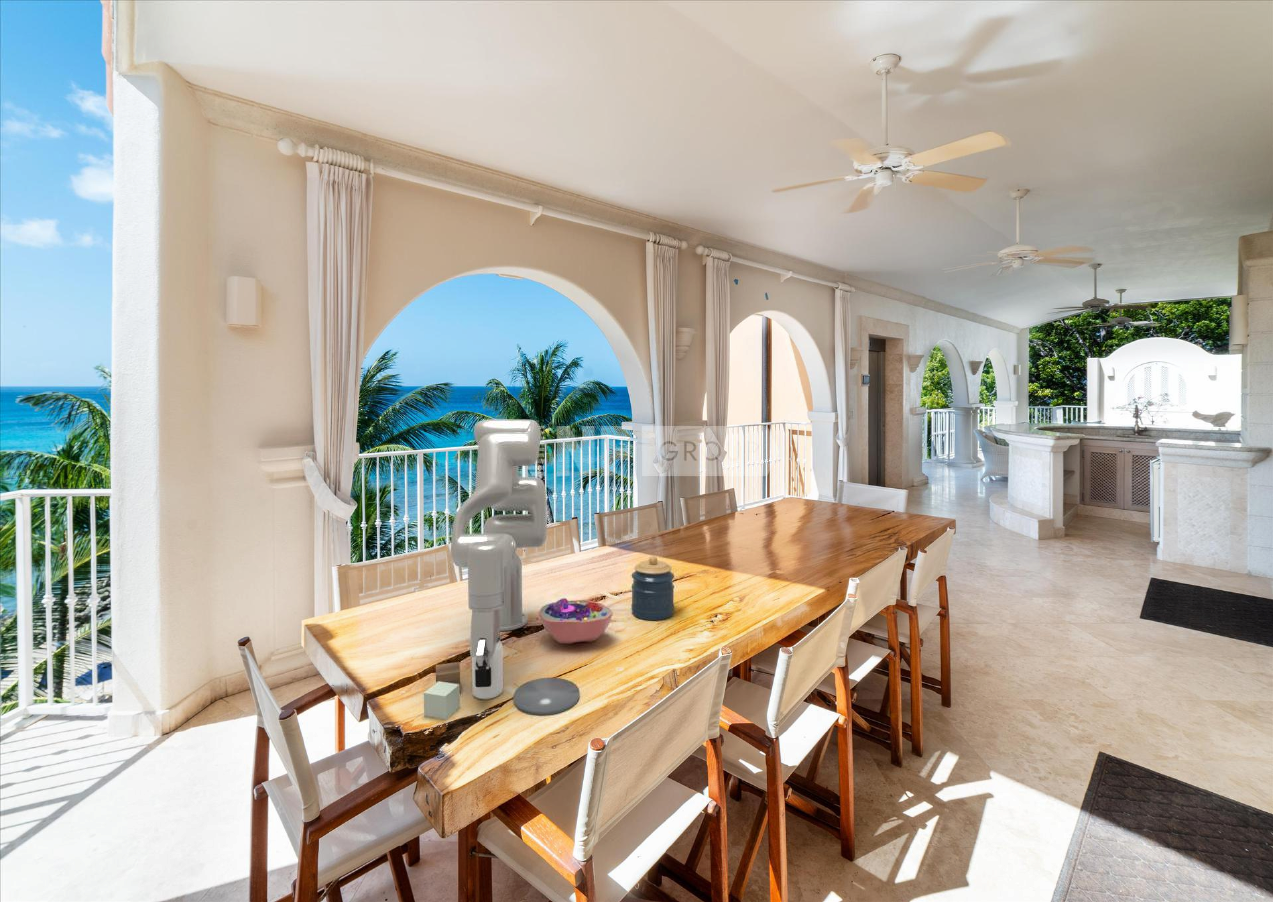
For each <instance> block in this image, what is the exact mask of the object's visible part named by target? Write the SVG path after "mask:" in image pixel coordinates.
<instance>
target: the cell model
mask: <svg viewBox="0 0 1273 902" xmlns="http://www.w3.org/2000/svg"><path fill="white" fill-rule="evenodd" d="M613 614H614V612H613V610H612V609H610V608H609V607H608V606H606V605H605V604H603V603H601V602H598V601H593V600H588V599H579V600H575V599H574V600H568V599H567V598H566V597H564V598H560V599H558V600H556V601H555V602H550V603H548V604H545V605H543V606H541V608H540V609H539V610H538V616H539V618H540V620H541V622H542V625H543V628H544V629H545V631H546V632H547V633H548V635H550V637H551V638H553V639H554V641H556V642H557V643H560V644H575V643H580V642H586V643H589V642H590V643H591V642H594V641H596V640H598V638H600V637H601V636H602V635H603V633H604V632H605V631H606V630H607V629H608V626H609V624H610V622H611V619H612V617H613Z"/></svg>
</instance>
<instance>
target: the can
mask: <svg viewBox="0 0 1273 902" xmlns="http://www.w3.org/2000/svg"><path fill="white" fill-rule="evenodd" d="M484 653H488V651H484ZM503 654H504V653H503V644H502V642H501V636H500V637H499V639H498V641H497V643H496V648H495V653H494V654H493V655H492V656H491V657H490V667H491V686H490V687H476V686H475V665H476V656H474V657H471V677H472V679H471V680H472V694H473V696H474V697H475V698H476V699H478V700H481V701H482V700H485V701H486V700H491V699H495V698H497V697H499V696H500V695H501V694H502V693H503V691H504V670H503V669H504V668H503V666H504V664H503V663H504V660H503V658H504V656H503ZM476 655H477V654H476ZM484 660H486V663H487V657H486V658H484Z"/></svg>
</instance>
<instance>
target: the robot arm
mask: <svg viewBox="0 0 1273 902" xmlns="http://www.w3.org/2000/svg"><path fill="white" fill-rule="evenodd" d="M473 434H474V440H475V442H476V443H477V458H476V459H477V461H476V473H475V474H476V478H475V489H474V492H473V493H472V494H471V495H470V496H469V497H468V498H467V499H466V500H465V501H464V502H463V503H462V504H461V506H460V507H459V509H458V511H457V513H456V515H455V517H454V520H453V524H452V532H451V542H450V558H451V561H452V563H453V564H454V565H455V566H456V567H459V568H467V590H468V591H467V595H468V601H467V602H468V605H467V606H468V609H469V610H471V620H470V643H469V645H470V647H469V653H470V654H469V655H470V657H471V658H472V657H474V656H476V665H475V686H476V687H490V686H491V667H490V657H491V656H492V655H493V654H494V653H495V648H496V643H497V641H498V639H499V637H500V638H501V635H500V634H501V632H505V631H507V632H508V631H513V630H518V629H520V628H522V627H524V626H526V624H528V622H529V617H528V615H527V614H525V613H524V612H523V570H522V569H523V564H522V560H521V557H520V556H519V555H518V553H517V549H524V548H525V549H526V548H531V549H532V548H539V547H541V546H544V544H545V543H546V541H547V534H548V533H547V532H548V528H547V525H548V524H547V523H548V522H547V491H546V486H545V482H544V481H543V480H542V479H541V478H539V477H535V476H532V477H531V476H528V477H527V476H525V477H523V476H520V473H519V469H520V468H519V467H530V466H533V465H535V464H536V463H537V461H538V458H539V454H540V445H541V437H542V435H541V434H542V433H541V427H540V424H539V423H538V421H536V420H533V419H510V418H509V419H507V418H496V419H494V418H492V419H482V420H480V421H477V422H476V423H475V425H474V428H473ZM490 507H491V509H492V510H494V511H497V512H498V511H499V512H523V511H524V512H528V513H527V514H525V513H523V514H517V513H515V514H514V513H513V514H510V513H509V514H496V515H492V516H490V517H489V518H487V519H486V521H485V522H484V526H483V533H466V531H467V527H468V525H469V522H470V521H471V520H472V519H473V518H474V517H475V516H476V515H477V514H479V513H480V512H483V510H486V509H488V508H490ZM484 651H488V653H484ZM476 654H477V655H476ZM486 657H487V663H486V660H484V658H486Z"/></svg>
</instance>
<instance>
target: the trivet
mask: <svg viewBox="0 0 1273 902" xmlns="http://www.w3.org/2000/svg"><path fill="white" fill-rule="evenodd" d="M579 699H580V689H579V687H578V685H577V684H576V683H574V682H573V681H571V680H568V679H566V678H561V677H542V678H541V677H539V678H535V679H532V680H530V681H527V682H525V683H523V684H521V685H520V686H518V687H517V688H516V689H515V691H514V693H513V704H514V706H515V708H516V709H517V710H519V711H520V712H522V713H525V714H528V715H532V716H550V715H551V716H553V715H557V714H560V713H563V712H566V711H567V710H570V709H571V708H573V707H574V706H575V705H577V703H578V701H579Z"/></svg>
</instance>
